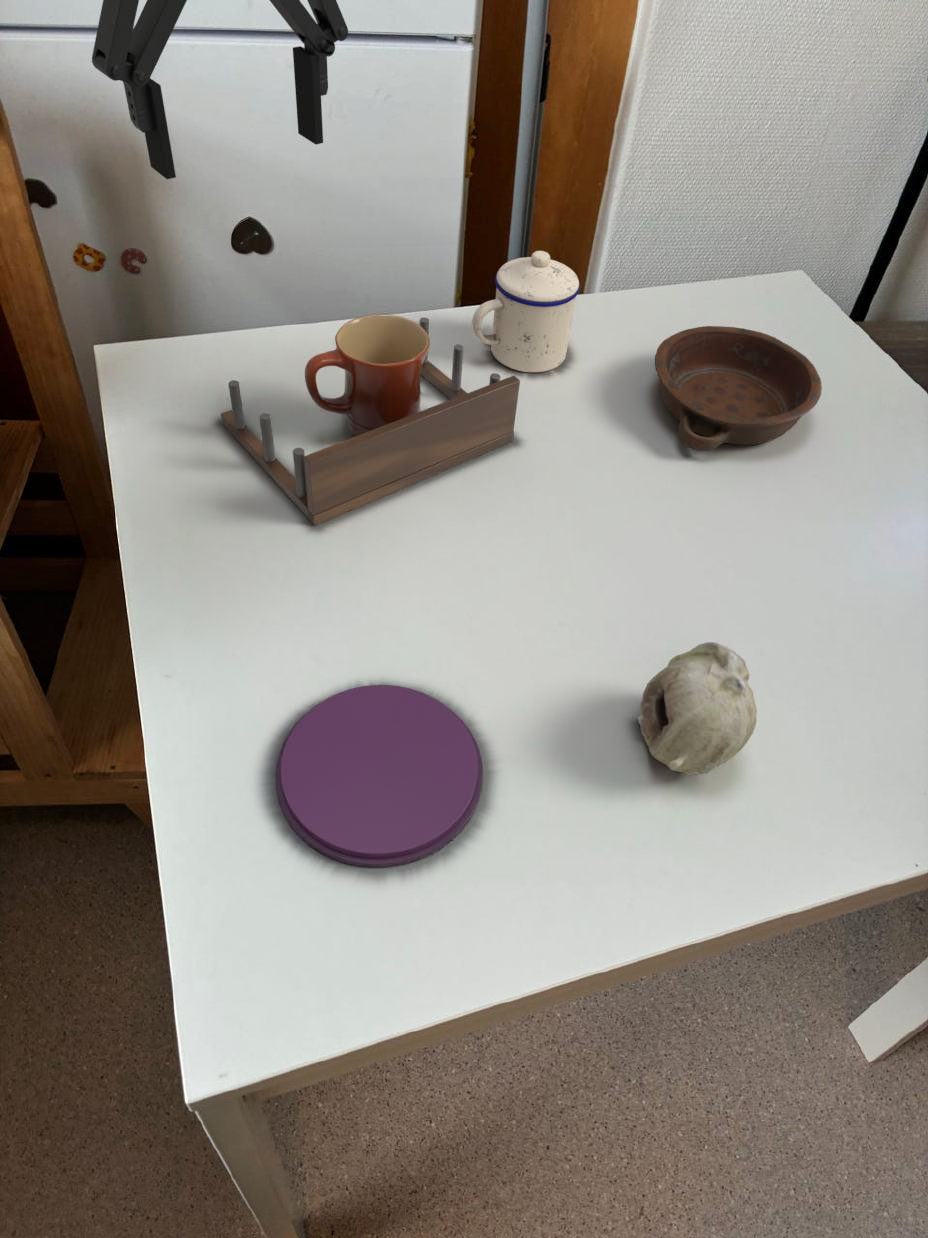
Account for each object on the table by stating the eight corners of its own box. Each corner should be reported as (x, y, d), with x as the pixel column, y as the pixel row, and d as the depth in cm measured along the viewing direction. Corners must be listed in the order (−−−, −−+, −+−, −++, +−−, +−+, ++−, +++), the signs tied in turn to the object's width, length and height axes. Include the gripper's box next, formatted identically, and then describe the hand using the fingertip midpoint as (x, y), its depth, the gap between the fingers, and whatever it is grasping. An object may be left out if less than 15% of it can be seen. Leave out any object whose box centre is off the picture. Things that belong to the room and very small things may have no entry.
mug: (407, 396, 96) (409, 307, 88) (439, 444, 90) (444, 355, 83) (297, 418, 92) (289, 328, 84) (324, 470, 87) (318, 379, 79)
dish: (608, 427, 94) (617, 386, 91) (690, 337, 107) (701, 299, 103) (766, 493, 89) (783, 453, 85) (833, 390, 102) (850, 351, 98)
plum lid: (238, 749, 65) (236, 740, 65) (406, 660, 72) (406, 651, 71) (347, 909, 58) (347, 902, 57) (523, 794, 65) (525, 785, 64)
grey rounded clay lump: (668, 713, 73) (706, 607, 68) (758, 771, 68) (806, 661, 64) (597, 750, 67) (633, 636, 62) (691, 817, 62) (738, 699, 57)
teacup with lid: (542, 324, 107) (556, 228, 98) (582, 365, 102) (601, 267, 93) (452, 344, 103) (458, 245, 94) (489, 387, 98) (499, 287, 89)
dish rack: (221, 422, 91) (211, 360, 85) (411, 356, 101) (413, 296, 95) (315, 525, 82) (310, 463, 76) (513, 441, 92) (521, 380, 86)
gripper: (31, -174, 50) (116, 206, 66) (392, -187, 62) (390, 140, 78) (-19, -197, 54) (72, 169, 70) (330, -206, 65) (341, 111, 81)
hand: (240, 154), depth 74 cm, fingers open, 13 cm apart
